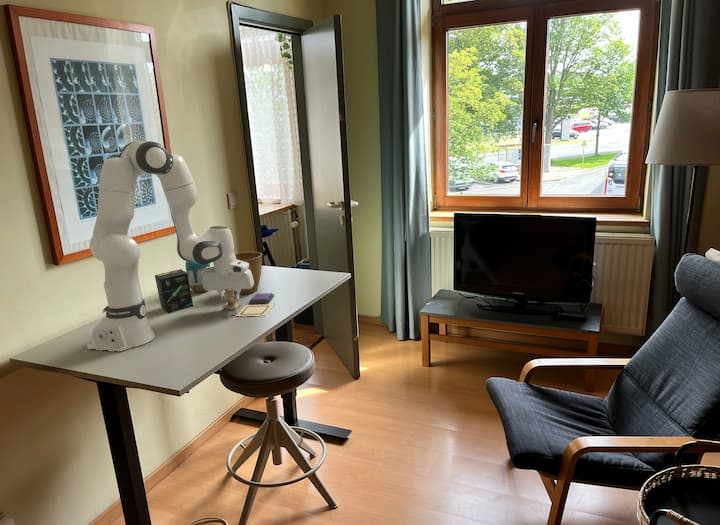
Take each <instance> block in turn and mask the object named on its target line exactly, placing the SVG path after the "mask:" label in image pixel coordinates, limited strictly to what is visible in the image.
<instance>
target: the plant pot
mask: <svg viewBox="0 0 720 525" xmlns="http://www.w3.org/2000/svg"><path fill="white" fill-rule="evenodd" d="M234 254H235V256H236V259H237V260H240V261H243V262H247V263H249V268H248V269H249V270H250V271H251V272H252V276H253V280H254V285H253V287H252V288H251V289H241V291H240V294H252V292H253V293H255V291H256V292H257V291H258V289H259V286H260V280H261V276H262V275H261V274H262V268H263V267H262V265H263V253H262V252H258V251H245V252H238V253H234Z"/></svg>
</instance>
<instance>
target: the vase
mask: <svg viewBox="0 0 720 525" xmlns="http://www.w3.org/2000/svg"><path fill="white" fill-rule="evenodd" d="M204 267H211V263H209V264H206V265H201V264H197V263H194V262H189V261H185V272H186V273H188V279H189V285H190V290H192V291H193V292H195V293H204V292H207V291H208V290H205V289H204V288H203V277H202V274H201V271H202V269H203V268H204Z"/></svg>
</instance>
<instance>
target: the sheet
mask: <svg viewBox="0 0 720 525" xmlns="http://www.w3.org/2000/svg"><path fill="white" fill-rule="evenodd" d="M273 305H274V306H275V304H274V303H273V304H270V303H267V304H245V305H244V306H243V307H242V308H241V309H240V310H239V311H238V312H237V313H236V315H235V316H239V317H238V318H241V317H240V316H246V317H247V316H256V317H266V316H267V315H268V313H269V312H270V311H271V310H272V309H273V307H274V306H273ZM270 309H271V310H270ZM266 314H267V315H266ZM246 317H245V318H246Z"/></svg>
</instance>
